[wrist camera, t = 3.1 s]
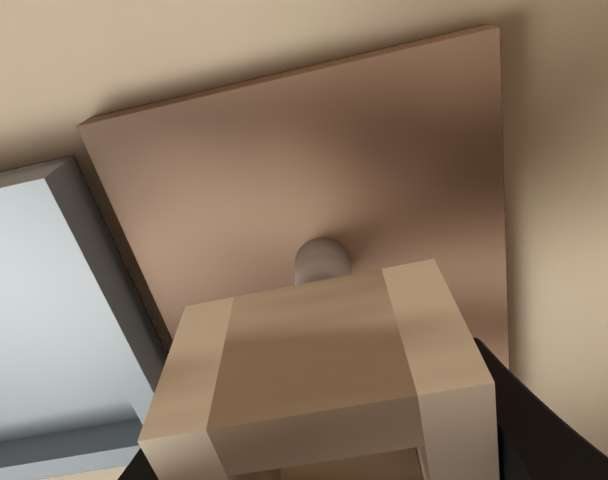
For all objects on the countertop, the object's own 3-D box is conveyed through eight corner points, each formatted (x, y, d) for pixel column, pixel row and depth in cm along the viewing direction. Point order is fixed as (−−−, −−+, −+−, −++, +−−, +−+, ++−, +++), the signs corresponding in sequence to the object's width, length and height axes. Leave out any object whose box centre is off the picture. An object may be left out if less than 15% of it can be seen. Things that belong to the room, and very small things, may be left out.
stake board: (502, 446, 22) (560, 578, 17) (248, 484, 23) (235, 618, 18) (486, 23, 14) (590, 48, 9) (89, 117, 15) (-14, 184, 10)
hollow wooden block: (453, 434, 12) (504, 584, 9) (251, 466, 13) (236, 617, 10) (434, 258, 10) (495, 382, 7) (185, 306, 10) (136, 441, 7)
